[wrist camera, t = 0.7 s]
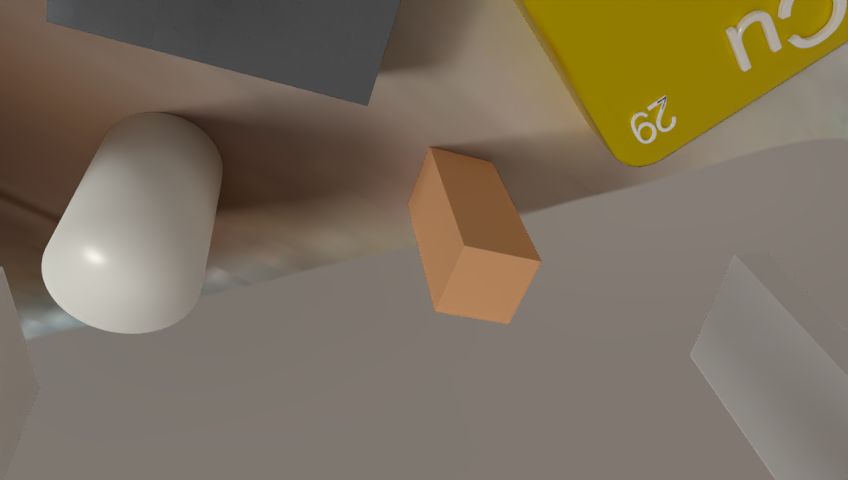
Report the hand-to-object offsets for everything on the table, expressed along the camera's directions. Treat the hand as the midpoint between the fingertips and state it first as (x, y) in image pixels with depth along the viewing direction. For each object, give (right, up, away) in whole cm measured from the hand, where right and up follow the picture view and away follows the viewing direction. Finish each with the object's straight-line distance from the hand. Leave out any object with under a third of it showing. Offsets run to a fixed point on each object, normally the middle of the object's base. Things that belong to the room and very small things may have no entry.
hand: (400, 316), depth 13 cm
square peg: (+2, +5, +28) cm, 28 cm away
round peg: (-14, +5, +24) cm, 29 cm away
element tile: (+13, +16, +23) cm, 31 cm away
